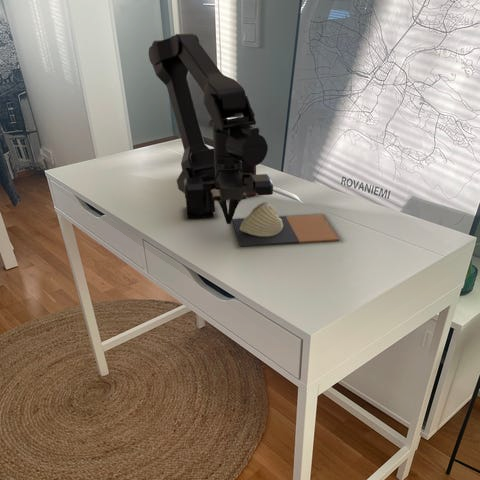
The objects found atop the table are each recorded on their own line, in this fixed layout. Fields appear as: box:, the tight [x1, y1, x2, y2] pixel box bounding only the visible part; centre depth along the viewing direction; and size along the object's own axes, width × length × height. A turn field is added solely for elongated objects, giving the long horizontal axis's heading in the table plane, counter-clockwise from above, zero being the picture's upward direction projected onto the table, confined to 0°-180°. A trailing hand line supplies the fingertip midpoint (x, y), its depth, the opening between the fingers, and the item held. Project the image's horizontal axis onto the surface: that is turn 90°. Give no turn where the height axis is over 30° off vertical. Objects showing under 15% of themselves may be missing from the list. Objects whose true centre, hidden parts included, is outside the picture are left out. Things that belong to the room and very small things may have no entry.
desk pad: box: [231, 213, 340, 248], centre depth 112 cm, size 22×14×1 cm, turn 98°
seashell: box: [240, 201, 283, 237], centre depth 109 cm, size 8×8×8 cm
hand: (228, 223), depth 109 cm, fingers closed
